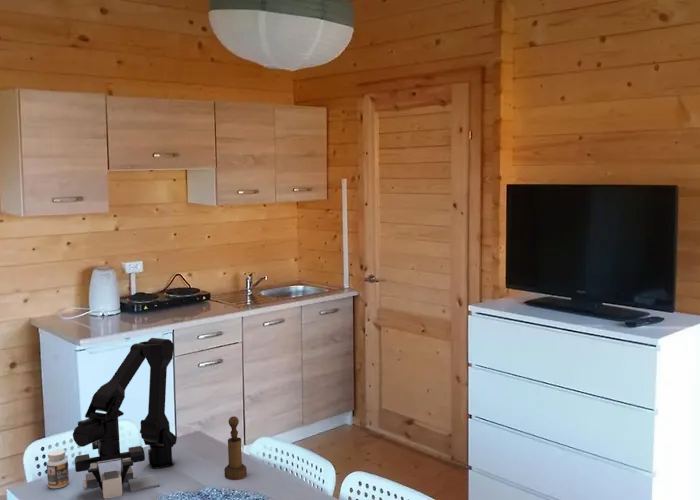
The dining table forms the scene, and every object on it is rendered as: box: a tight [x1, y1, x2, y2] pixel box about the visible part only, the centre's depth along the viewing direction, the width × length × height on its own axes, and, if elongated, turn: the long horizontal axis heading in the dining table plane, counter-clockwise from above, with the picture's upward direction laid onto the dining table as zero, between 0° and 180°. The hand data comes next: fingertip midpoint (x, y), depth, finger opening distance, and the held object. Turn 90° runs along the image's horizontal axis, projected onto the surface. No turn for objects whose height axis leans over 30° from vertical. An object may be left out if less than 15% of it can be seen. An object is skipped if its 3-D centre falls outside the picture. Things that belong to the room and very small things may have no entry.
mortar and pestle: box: [223, 415, 248, 480], centre depth 216 cm, size 7×6×18 cm
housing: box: [82, 466, 137, 491], centre depth 214 cm, size 15×6×2 cm, turn 113°
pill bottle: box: [46, 449, 70, 489], centre depth 212 cm, size 6×6×10 cm
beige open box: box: [100, 469, 123, 500], centre depth 206 cm, size 5×6×6 cm
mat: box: [128, 473, 160, 492], centre depth 212 cm, size 8×8×1 cm
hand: (111, 487), depth 208 cm, fingers closed on beige open box, 5 cm apart
